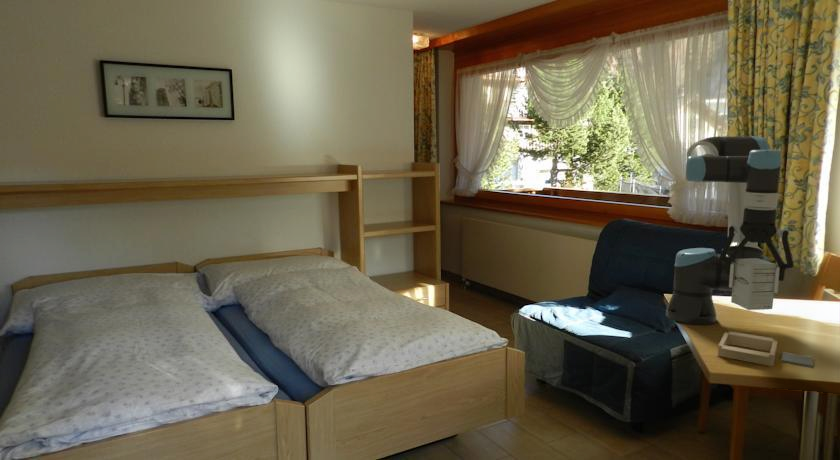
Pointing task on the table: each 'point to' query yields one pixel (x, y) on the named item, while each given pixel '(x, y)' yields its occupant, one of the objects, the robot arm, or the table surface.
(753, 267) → the supplement box
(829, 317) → the table surface
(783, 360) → the coaster
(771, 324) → the table surface
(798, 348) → the table surface
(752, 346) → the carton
